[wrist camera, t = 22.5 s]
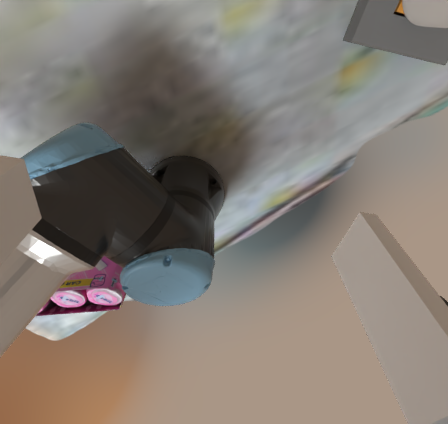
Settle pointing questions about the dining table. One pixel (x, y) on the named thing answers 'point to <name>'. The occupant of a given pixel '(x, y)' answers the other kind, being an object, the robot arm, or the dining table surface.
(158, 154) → the dining table surface
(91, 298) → the gum box
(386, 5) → the grey square slab
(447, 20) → the milk bottle
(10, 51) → the dining table surface
